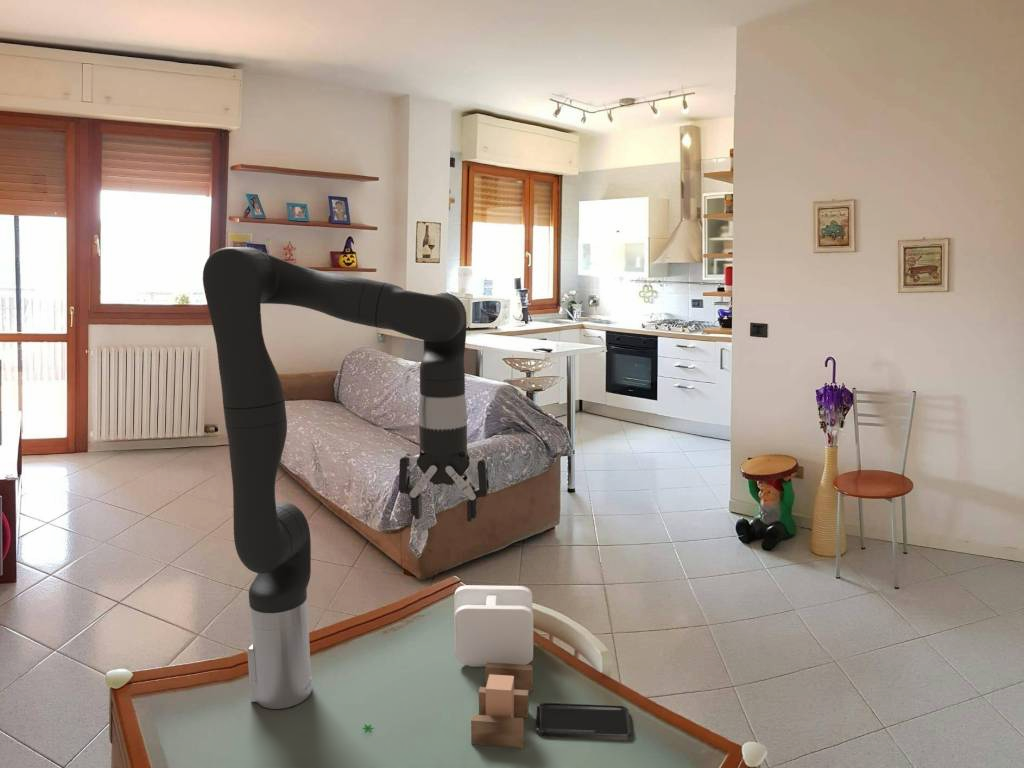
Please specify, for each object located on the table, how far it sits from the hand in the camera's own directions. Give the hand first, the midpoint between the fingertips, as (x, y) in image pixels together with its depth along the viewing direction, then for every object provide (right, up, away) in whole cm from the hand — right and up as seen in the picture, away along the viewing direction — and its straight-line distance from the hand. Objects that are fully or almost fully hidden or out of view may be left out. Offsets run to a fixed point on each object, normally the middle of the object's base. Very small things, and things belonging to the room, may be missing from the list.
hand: (444, 518), depth 125 cm
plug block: (+9, -33, -1) cm, 34 cm away
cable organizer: (+7, -29, +20) cm, 36 cm away
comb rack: (+10, -32, +2) cm, 34 cm away
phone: (+22, -33, 0) cm, 40 cm away
